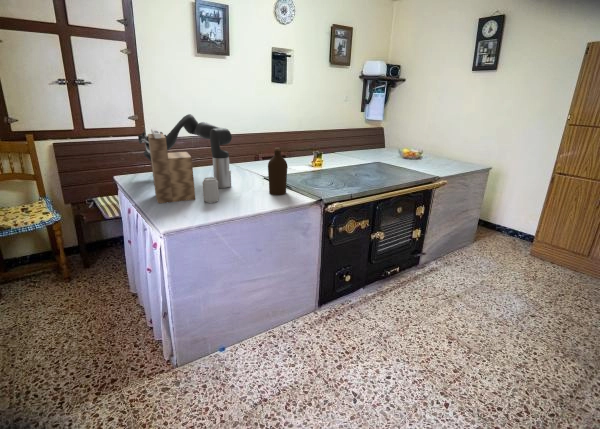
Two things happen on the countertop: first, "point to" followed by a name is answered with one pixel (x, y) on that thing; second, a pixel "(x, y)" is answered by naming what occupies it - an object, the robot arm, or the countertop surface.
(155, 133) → the remote
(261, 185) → the countertop surface
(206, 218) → the countertop surface
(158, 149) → the stepped wooden block
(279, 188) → the olive oil
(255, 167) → the countertop surface
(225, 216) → the countertop surface
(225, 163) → the robot arm
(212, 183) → the can
